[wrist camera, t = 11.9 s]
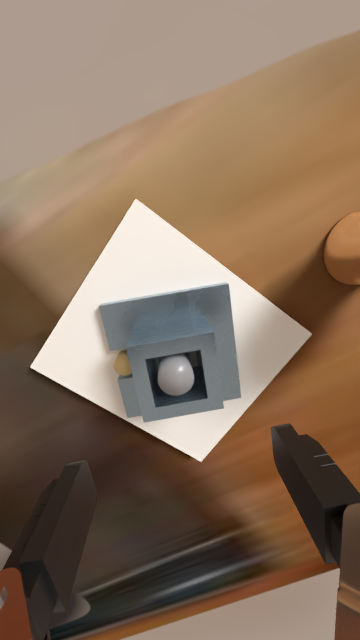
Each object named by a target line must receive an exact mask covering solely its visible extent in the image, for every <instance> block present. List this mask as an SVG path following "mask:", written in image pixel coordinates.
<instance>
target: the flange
mask: <svg viewBox="0 0 360 640" xmlns="http://www.w3.org/2000/svg"><path fill="white" fill-rule="evenodd" d="M99 310H100V314H101V318H102V322H103V326H104V330H105V333H106V337H107V341H108V345H109V349H110V351H114V350H119V349H125V348H126V350H127V354H128V359H129V363H130V367H131V371H132V373H131V374H129V375H125V376H124V375H119V378H118V384H119V388H120V392H121V395H122V399H123V403H124V407H125V411H126V415H127V418H131V417H136V416H142V417H143V422H144V423H145V422H151V421H156V420H162V419H168V418H173V417H179V416H184V415H190V414H196V413H201V412H207V411H212V410H218V409H224V404H223V401H226V400H232V399H237V398H241V390H240V381H239V372H238V362H237V353H236V344H235V335H234V326H233V317H232V308H231V298H230V289H229V284H228V283H226V282H224V283H218V284H212V285H207V286H201V287H195V288H189V289H183V290H177V291H172V292H166V293H160V294H154V295H148V296H142V297H137V298H131V299H125V300H119V301H113V302H107V303H102V304H100V305H99ZM190 351H196V354H197V361H198V366H195V367H192V370H193V374H194V383H193V386H192V387H191V389H190V390H189V391H188V392H186V393H184V394H182V395H177V396H174V395H169V394H167V393H165V392H164V391H163V390H162V389H161V388H160V387H159V384H158V373H157V369H156V364H155V359H154V358H156V357H161V356H167V355H173V354H178V353H184V352H190Z"/></svg>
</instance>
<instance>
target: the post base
mask: <svg viewBox="0 0 360 640" xmlns="http://www.w3.org/2000/svg"><path fill="white" fill-rule="evenodd" d="M224 282H226V283H228V284H229V289H230V298H231V308H232V317H233V326H234V335H235V344H236V353H237V362H238V372H239V381H240V390H241V398H237V399H232V400H226V401H223V404H224V409H218V410H212V411H207V412H201V413H196V414H190V415H184V416H179V417H173V418H168V419H162V420H156V421H151V422H145V423H144V422H143V417H142V416H136V417H131V418H127V415H126V411H125V407H124V403H123V399H122V395H121V392H120V388H119V384H118V378H119V375H124V376H125V375H129V374H131V373H132V371H131V367H130V363H129V359H128V354H127V350H126V348H125V349H119V350H114V351H110V349H109V345H108V341H107V337H106V333H105V330H104V326H103V322H102V318H101V314H100V310H99V305H100V304H102V303H107V302H113V301H119V300H125V299H131V298H137V297H142V296H148V295H154V294H160V293H166V292H172V291H177V290H183V289H189V288H195V287H201V286H207V285H212V284H218V283H224ZM311 335H312V333H310V332H309V331H308V330H306V329H305V328H304V327H302V326H301V325H300V324H299V323H297V322H296V321H295V320H293V319H292V318H291V317H289V316H288V315H287V314H286V313H284V312H283V311H282V310H280V309H279V308H278V307H276V306H275V305H274V304H273V303H271V302H270V301H269V300H267V299H266V298H265V297H263V296H262V295H261V294H259V293H258V292H257V291H256V290H254V289H253V288H252V287H250V286H249V285H248V284H246V283H245V282H244V281H243V280H241V279H240V278H239V277H237V276H236V275H235V274H233V273H232V272H231V271H230V270H228V269H227V268H226V267H224V266H223V265H222V264H220V263H219V262H218V261H216V260H215V259H214V258H213V257H211V256H210V255H209V254H207V253H206V252H205V251H203V250H202V249H201V248H200V247H198V246H197V245H196V244H194V243H193V242H192V241H190V240H189V239H188V238H187V237H185V236H184V235H183V234H181V233H180V232H179V231H177V230H176V229H175V228H173V227H172V226H171V225H170V224H168V223H167V222H166V221H164V220H163V219H162V218H160V217H159V216H158V215H157V214H155V213H154V212H153V211H151V210H150V209H149V208H147V207H146V206H145V205H144V204H142V203H141V202H140V201H138V200H137V199H135V201H134V202H133V204H132V206H131V207H130V209H129V210H128V212H127V213H126V215H125V217H124V218H123V220H122V221H121V223H120V225H119V226H118V228H117V229H116V231H115V233H114V234H113V236H112V237H111V239H110V241H109V242H108V244H107V245H106V247H105V249H104V250H103V252H102V253H101V255H100V256H99V258H98V260H97V261H96V263H95V264H94V266H93V268H92V269H91V271H90V272H89V274H88V276H87V277H86V279H85V280H84V282H83V284H82V285H81V287H80V288H79V290H78V292H77V293H76V295H75V296H74V298H73V299H72V301H71V303H70V304H69V306H68V307H67V309H66V311H65V312H64V314H63V315H62V317H61V319H60V320H59V322H58V323H57V325H56V327H55V328H54V330H53V331H52V333H51V335H50V336H49V338H48V339H47V341H46V342H45V344H44V346H43V347H42V349H41V350H40V352H39V354H38V355H37V357H36V358H35V360H34V362H33V363H32V365H31V366H30V368H32V369H34V370H36V371H37V372H39V373H41V374H43V375H45V376H47V377H48V378H50V379H52V380H54V381H56V382H57V383H59V384H61V385H63V386H65V387H66V388H68V389H70V390H72V391H74V392H75V393H77V394H79V395H81V396H83V397H85V398H86V399H88V400H90V401H92V402H94V403H95V404H97V405H99V406H101V407H103V408H104V409H106V410H108V411H110V412H112V413H114V414H115V415H117V416H119V417H121V418H123V419H124V420H126V421H128V422H130V423H132V424H133V425H135V426H137V427H139V428H141V429H143V430H144V431H146V432H148V433H150V434H152V435H153V436H155V437H157V438H159V439H161V440H162V441H164V442H166V443H168V444H170V445H172V446H173V447H175V448H177V449H179V450H181V451H182V452H184V453H186V454H188V455H190V456H191V457H193V458H195V459H197V460H199V461H202V460H203V459H204V458H205V457H206V456H207V454H208V453H209V452H210V451H211V450H212V449H213V448H214V446H215V445H216V444H217V443H218V442H219V441H220V439H221V438H222V437H223V436H224V435H225V434H226V433H227V431H228V430H229V429H230V428H231V427H232V426H233V425H234V423H235V422H236V421H237V420H238V419H239V418H240V416H241V415H242V414H243V413H244V412H245V411H246V410H247V408H248V407H249V406H250V405H251V404H252V403H253V402H254V400H255V399H256V398H257V397H258V396H259V395H260V393H261V392H262V391H263V390H264V389H265V388H266V387H267V385H268V384H269V383H270V382H271V381H272V380H273V379H274V377H275V376H276V375H277V374H278V373H279V372H280V370H281V369H282V368H283V367H284V366H285V365H286V364H287V362H288V361H289V360H290V359H291V358H292V357H293V356H294V354H295V353H296V352H297V351H298V350H299V349H300V347H301V346H302V345H303V344H304V343H305V342H306V341H307V339H308V338H309V337H310V336H311ZM154 359H155V364H156V369H157V373H158V384H159V387H160V388H161V389H162V390H163V391H164V392H165V393H167V394H169V395H174V396H177V395H182V394H184V393H186V392H188V391H189V390H190V389H191V387H192V386H193V383H194V374H193V370H192V367H195V366H198V361H197V354H196V351H190V352H184V353H178V354H173V355H167V356H161V357H156V358H154Z"/></svg>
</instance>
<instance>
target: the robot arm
mask: <svg viewBox="0 0 360 640" xmlns="http://www.w3.org/2000/svg"><path fill="white" fill-rule="evenodd" d="M271 433H272V444H273V455H274V460H275V464H276V467H277V470H278V472H279V474H280V476H281V478H282V480H283V482H284V484H285V486H286V488H287V490H288V492H289V493H290V495H291V497H292V499H293V501H294V503H295V505H296V507H297V509H298V511H299V513H300V515H301V517H302V519H303V521H304V523H305V525H306V527H307V529H308V531H309V533H310V535H311V537H312V538H313V540H314V542H315V544H316V546H317V548H318V550H319V552H320V554H321V556H322V558H323V560H324V562H325V564H330V563H335V562H336V563H337V565H338V566H339V568H340V578H339V588H338V594H337V608H336V624H335V639H334V640H360V493H359V492H358V491H357V490H356V488H355V487H354V486H353V485H352V483H351V482H350V481H349V480H348V478H347V477H346V476H345V475H344V474H343V472H342V471H341V470H340V469H339V467H338V466H337V465H335V462H334V461H333V460H332V459H331V457H330V456H328V454H327V452H326V451H325V450H324V449H323V447H322V446H321V445H320V444H319V442H317V441H316V440H314V439H313V438H311V437H310V436H308V435H307V434H305V435H300V436H299V435H298V434H297V432H296V431H295V430H294V428H293V427H292V426H291V424H284V425H278V426H273V427H272V428H271ZM96 500H97V491H96V486H95V483H94V480H93V477H92V474H91V471H90V468H89V465H88V463H87V461H85V460H84V461H78V462H73V463H68V464H66V465H65V467H64V469H63V471H62V473H61V475H60V477H59V479H56V480H53V481H52V482H51V484H50V485H49V486H48V487H47V488H46V489H45V490H44V491H43V493H42V495H41V497H40V499H39V501H38V502H37V504H36V508H35V509H34V510H33V512H32V514H31V516H30V520H28V522H27V524H26V526H25V527H24V529H23V531H22V533H21V535H20V537H19V539H18V541H17V543H16V545H15V547H14V549H13V551H12V552H11V554H10V556H9V558H8V560H7V562H6V564H5V566H4V568H3V569H2V570H1V571H0V640H51V638H50V634H49V631H48V626H49V623H50V620H51V616H52V613H57V612H63V611H66V608H67V604H68V601H69V597H70V594H71V591H72V587H73V584H74V580H75V577H76V573H77V569H78V566H79V562H80V559H81V555H82V552H83V548H84V545H85V541H86V538H87V534H88V531H89V527H90V524H91V520H92V516H93V513H94V509H95V506H96Z"/></svg>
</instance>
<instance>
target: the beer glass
mask: <svg viewBox="0 0 360 640" xmlns="http://www.w3.org/2000/svg"><path fill="white" fill-rule="evenodd" d="M324 262H325V266H326V268H327V270H328V272H329V273H330V275H331V276H332V277H333V278H334V279H336V280H337V281H339V282H341V283H344V284H349V285H360V211H357V212H354V213H351V214H349V215H347V216H346V217H344V218H343V219H341V220H340V221H339V222H338V223H337V224H336V225H335V226H334V227H333V229H332V230H331V232H330V233H329V235H328V237H327V240H326V243H325V247H324Z"/></svg>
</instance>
